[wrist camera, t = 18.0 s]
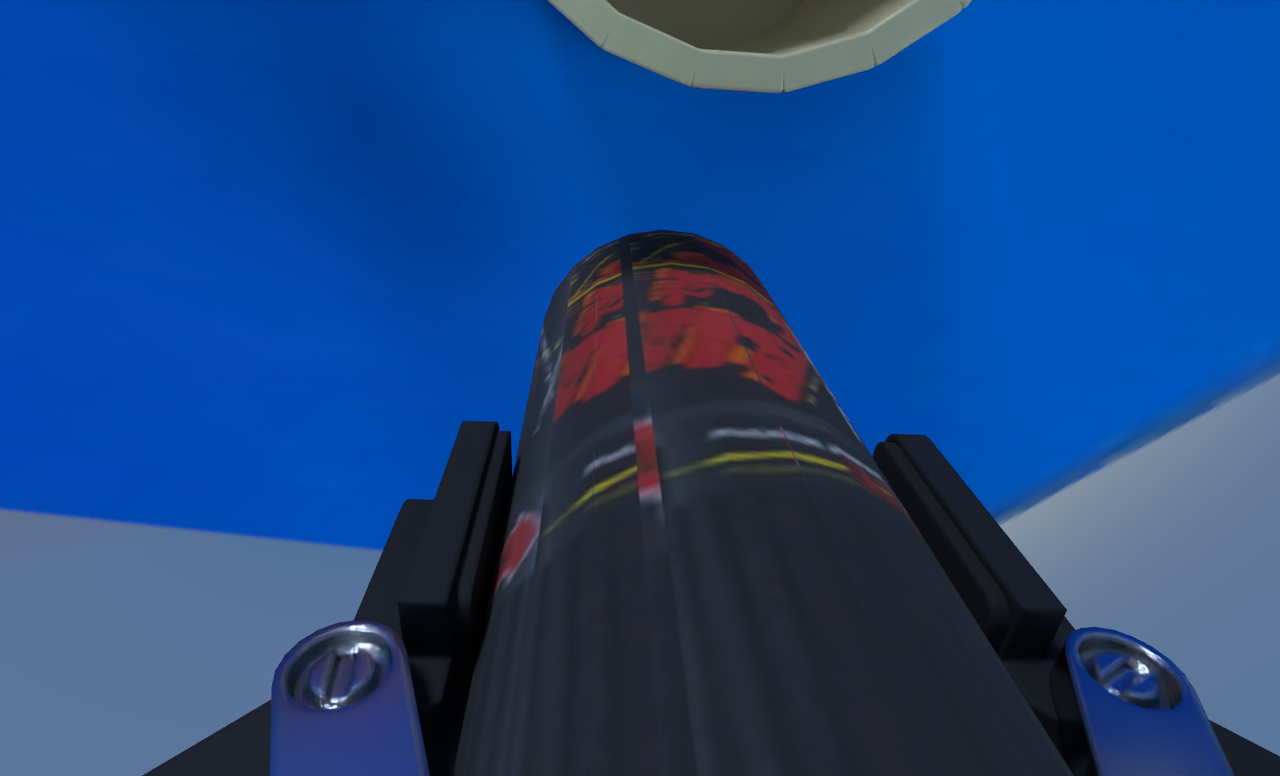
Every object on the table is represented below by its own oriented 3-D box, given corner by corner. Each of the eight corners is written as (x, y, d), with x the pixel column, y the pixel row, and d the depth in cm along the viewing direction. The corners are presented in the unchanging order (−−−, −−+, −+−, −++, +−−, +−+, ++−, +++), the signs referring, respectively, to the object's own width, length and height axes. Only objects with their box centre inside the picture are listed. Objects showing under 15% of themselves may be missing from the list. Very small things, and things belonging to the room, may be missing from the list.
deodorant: (823, 342, 17) (1531, 1338, 4) (657, 482, 19) (782, 1492, 6) (661, 175, 15) (1052, 1119, 2) (492, 350, 17) (111, 1465, 4)
